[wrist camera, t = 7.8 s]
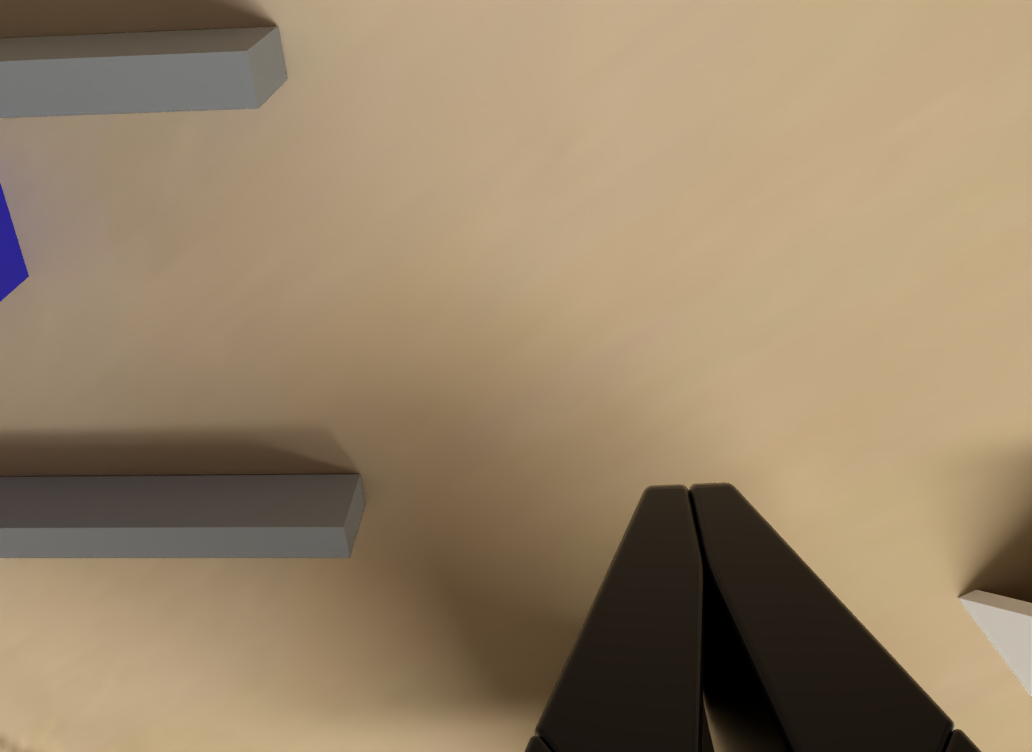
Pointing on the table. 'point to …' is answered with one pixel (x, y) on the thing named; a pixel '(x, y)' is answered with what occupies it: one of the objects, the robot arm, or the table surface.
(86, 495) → the guide rails
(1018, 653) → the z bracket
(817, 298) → the table surface
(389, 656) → the table surface
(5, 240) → the cable clip
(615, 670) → the robot arm
